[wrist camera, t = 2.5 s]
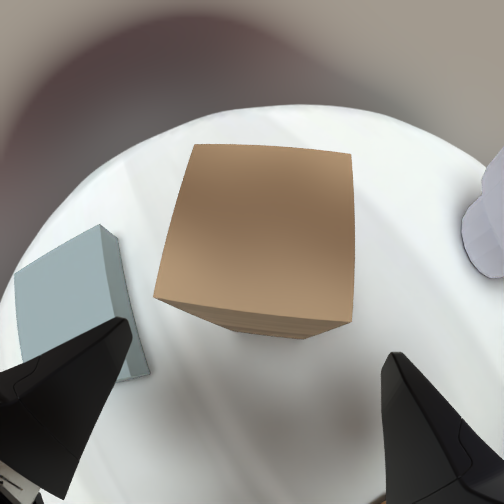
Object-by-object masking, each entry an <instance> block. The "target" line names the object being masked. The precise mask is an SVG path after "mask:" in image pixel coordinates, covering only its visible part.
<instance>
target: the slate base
mask: <svg viewBox="0 0 504 504" xmlns="http://www.w3.org/2000/svg"><path fill="white" fill-rule="evenodd" d="M14 285H15V305H16V318H17V327H18V335H19V342H20V349H21V355H22V360H23V363H24V362H26V361H29V360H31V359H33V358H35V357H37V356H39V355H41V354H43V353H45V352H47V351H48V350H50V349H52V348H54V347H56V346H58V345H60V344H62V343H64V342H66V341H68V340H70V339H72V338H74V337H76V336H78V335H80V334H82V333H84V332H86V331H88V330H90V329H92V328H94V327H96V326H98V325H100V324H102V323H104V322H106V321H108V320H110V319H112V318H114V317H116V316H120V317H124V318H126V319H127V320H128V321H129V325H130V328H131V331H132V335H133V339H132V343H131V345H130V348H129V350H128V353H127V356H126V358H125V361H124V364H123V366H122V369H121V371H120V374H119V376H118V378H117V380H116V382H115V383H118V382H122V381H126V380H130V379H134V378H137V377H141V376H145V375H148V374H150V372H149V369H148V366H147V362H146V359H145V356H144V353H143V350H142V346H141V343H140V339H139V336H138V332H137V329H136V325H135V321H134V317H133V313H132V309H131V305H130V301H129V296H128V292H127V287H126V283H125V278H124V273H123V268H122V262H121V257H120V251H119V245H118V239H117V237H115V236H114V235H113V234H112V233H110V232H109V231H108V230H107V229H105V228H104V227H103V226H102V225H100V224H99V225H97V226H95V227H93V228H91V229H89V230H87V231H85V232H83V233H82V234H80V235H78V236H76V237H74V238H73V239H71V240H69V241H67V242H65V243H64V244H62V245H60V246H59V247H57V248H55V249H53V250H52V251H50V252H48V253H47V254H45V255H43V256H42V257H40V258H38V259H37V260H35V261H34V262H32V263H30V264H29V265H27V266H26V267H24V268H23V269H21V270H20V271H18V272H16V273H15V274H14Z"/></svg>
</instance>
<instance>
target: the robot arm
mask: <svg viewBox="0 0 504 504" xmlns="http://www.w3.org/2000/svg"><path fill="white" fill-rule="evenodd" d="M132 339H133V335H132V331H131V328H130V325H129V321H128V320H127V319H126V318H124V317H120V316H116V317H114V318H112V319H110V320H108V321H106V322H104V323H102V324H100V325H98V326H96V327H94V328H92V329H90V330H88V331H86V332H84V333H82V334H80V335H78V336H76V337H74V338H72V339H70V340H68V341H66V342H64V343H62V344H60V345H58V346H56V347H54V348H52V349H50V350H48V351H47V352H45V353H43V354H41V355H39V356H37V357H35V358H33V359H31V360H29V361H26V362H24V363H22V364H20V365H17V366H15V367H13V368H10V369H8V370H5V371H3V372H0V504H44V502H43V499H42V496H41V493H40V492H39V490H40V488H42V489H44V490H45V491H47V492H49V493H51V494H53V495H54V496H56V497H58V498H60V499H62V500H64V499H65V497H66V494H67V491H68V489H69V486H70V483H71V481H72V478H73V476H74V473H75V471H76V468H77V466H78V463H79V460H80V458H81V456H82V453H83V451H84V449H85V446H86V444H87V442H88V440H89V437H90V435H91V433H92V431H93V428H94V426H95V424H96V422H97V420H98V417H99V415H100V413H101V411H102V409H103V407H104V405H105V403H106V401H107V398H108V396H109V394H110V392H111V390H112V388H113V386H114V384H115V382H116V380H117V378H118V376H119V374H120V371H121V369H122V366H123V364H124V361H125V358H126V356H127V353H128V350H129V348H130V345H131V343H132ZM381 413H382V424H383V435H384V449H385V467H386V504H504V460H503V459H502V458H501V457H500V456H499V455H498V454H497V453H496V452H495V451H493V450H492V449H491V448H490V447H489V446H488V445H487V444H486V443H485V442H484V441H483V440H482V439H481V438H480V437H479V436H478V435H477V434H476V433H475V432H474V431H473V429H472V428H471V427H470V426H469V425H468V424H467V423H466V422H465V420H464V419H463V418H462V419H461V416H460V415H459V414H458V413H457V411H456V410H455V409H454V408H453V407H452V406H451V405H450V404H449V402H448V401H447V400H446V399H445V398H444V397H443V396H442V395H441V394H440V392H439V391H438V390H437V389H436V388H435V387H434V386H433V385H432V384H431V383H430V381H429V380H428V379H427V378H426V377H425V376H424V375H423V374H422V373H421V372H420V371H419V370H418V369H417V367H416V366H415V365H414V364H413V363H412V362H411V361H410V360H409V359H408V358H407V357H406V356H405V355H404V354H403V353H402V352H391V353H390V354H389V355H388V357H387V359H386V361H385V363H384V365H383V367H382V370H381Z"/></svg>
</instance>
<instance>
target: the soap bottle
mask: <svg viewBox="0 0 504 504" xmlns="http://www.w3.org/2000/svg"><path fill="white" fill-rule="evenodd" d="M461 233H462V237H463V242H464V247H465V249H466V251H467V253H468V256H469V258H470V260H471V262H472V263H473V264H474V266H475V267H476V268H477V269H478V270H479V272H480V273H482V274H484V275H485V276H487V277H489V278H502V277H504V146H503V148H502V149H501V150H500V151H499V153H498V154H497V155H496V156H495V158H494V159H493V160H492V161H491V162H490V164H489V165H488V166H487V168H486V170H485V173H484V175H483V177H482V195H481V196H480V197H479V198H478V199H477V200H476V201H475V202H474V203H473V204H472V205H471V206H469V207H468V209H467V211H466V213H465V215H464V217H463V219H462V231H461Z"/></svg>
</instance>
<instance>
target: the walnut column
mask: <svg viewBox="0 0 504 504" xmlns="http://www.w3.org/2000/svg"><path fill="white" fill-rule="evenodd" d="M354 268H355V215H354V189H353V172H352V159H351V154H347V153H339V152H332V151H323V150H314V149H304V148H293V147H279V146H263V145H236V144H194V147H193V150H192V153H191V156H190V159H189V162H188V165H187V168H186V171H185V175H184V178H183V181H182V184H181V188H180V191H179V194H178V198H177V201H176V205H175V208H174V212H173V215H172V219H171V223H170V226H169V230H168V234H167V238H166V242H165V246H164V250H163V254H162V258H161V263H160V267H159V271H158V276H157V280H156V285H155V290H154V295H153V297H154V298H156V299H158V300H160V301H163V302H165V303H167V304H169V305H171V306H174V307H176V308H178V309H180V310H183V311H185V312H187V313H190V314H192V315H194V316H197V317H199V318H202V319H204V320H206V321H209V322H211V323H214V324H216V325H219V326H221V327H224V328H226V329H229V330H232V331H237V332H244V333H251V334H259V335H267V336H276V337H285V338H294V339H306V338H309V337H312V336H315V335H318V334H320V333H323V332H326V331H329V330H332V329H334V328H337V327H340V326H342V325H345V324H348V323H350V322H352V310H353V294H354Z"/></svg>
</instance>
